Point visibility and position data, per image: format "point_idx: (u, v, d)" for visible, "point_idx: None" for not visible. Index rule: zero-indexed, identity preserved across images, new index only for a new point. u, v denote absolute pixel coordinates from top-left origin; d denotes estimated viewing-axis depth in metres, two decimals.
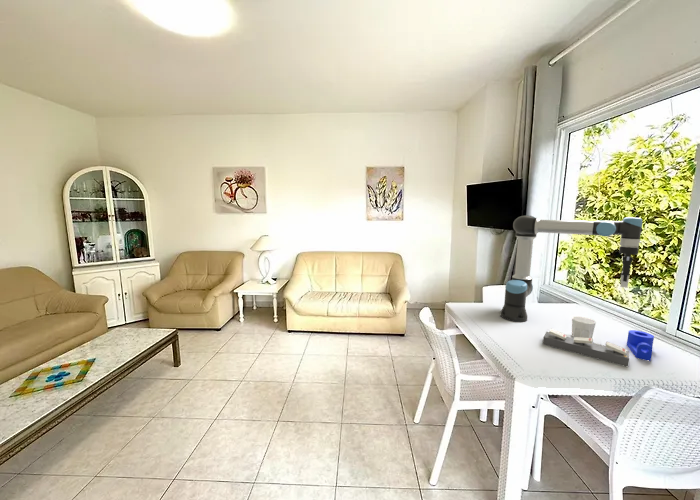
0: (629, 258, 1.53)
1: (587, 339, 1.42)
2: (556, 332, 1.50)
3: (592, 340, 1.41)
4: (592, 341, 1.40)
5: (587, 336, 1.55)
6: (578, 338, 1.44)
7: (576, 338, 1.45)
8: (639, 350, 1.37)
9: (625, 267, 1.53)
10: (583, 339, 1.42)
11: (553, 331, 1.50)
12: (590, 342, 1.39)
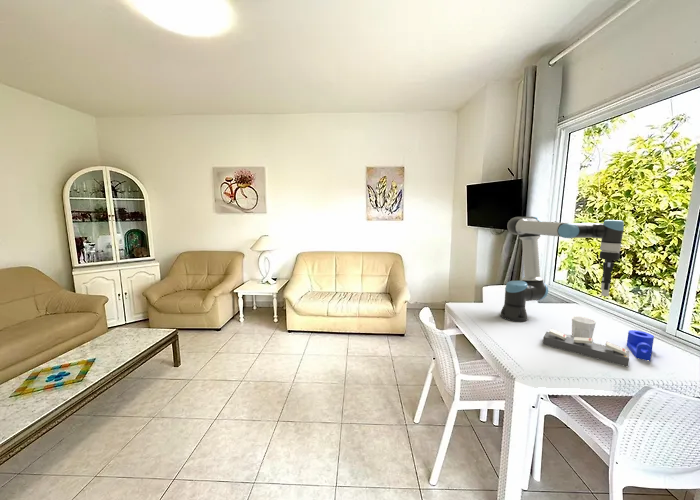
0: (610, 264, 1.40)
1: (587, 339, 1.42)
2: (556, 332, 1.50)
3: (592, 340, 1.41)
4: (592, 341, 1.40)
5: (587, 336, 1.55)
6: (578, 338, 1.44)
7: (576, 338, 1.45)
8: (639, 350, 1.37)
9: (606, 274, 1.40)
10: (583, 339, 1.42)
11: (553, 331, 1.50)
12: (590, 342, 1.39)
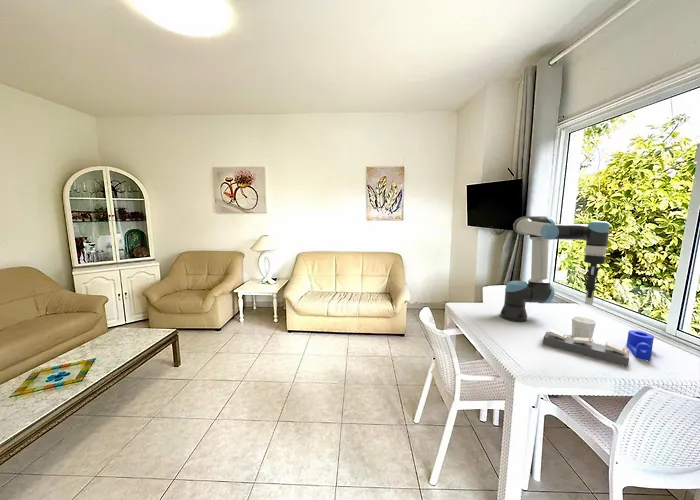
0: (593, 273, 1.33)
1: (587, 339, 1.42)
2: (556, 332, 1.50)
3: (592, 340, 1.41)
4: (592, 341, 1.40)
5: (587, 336, 1.55)
6: (578, 338, 1.44)
7: (576, 338, 1.45)
8: (638, 350, 1.37)
9: (589, 282, 1.35)
10: (583, 339, 1.42)
11: (553, 331, 1.50)
12: (590, 342, 1.39)
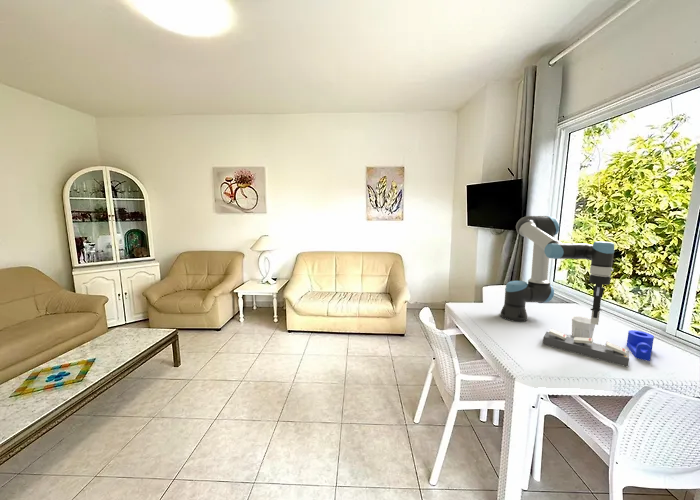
0: (599, 294, 1.32)
1: (587, 339, 1.42)
2: (556, 332, 1.50)
3: (592, 340, 1.41)
4: (592, 341, 1.40)
5: (587, 336, 1.55)
6: (578, 338, 1.44)
7: (576, 338, 1.45)
8: (638, 350, 1.37)
9: (595, 303, 1.35)
10: (583, 339, 1.42)
11: (553, 331, 1.50)
12: (590, 342, 1.39)
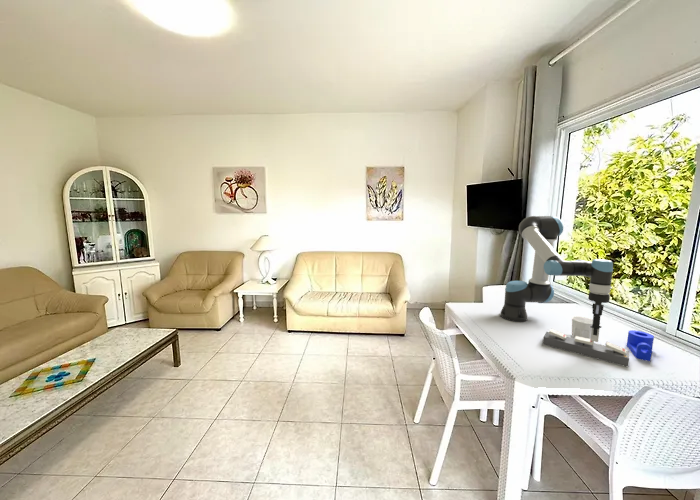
0: (598, 312, 1.33)
1: (588, 340, 1.41)
2: (556, 332, 1.50)
3: (593, 342, 1.40)
4: None
5: (587, 336, 1.55)
6: (579, 337, 1.44)
7: (577, 337, 1.44)
8: (639, 350, 1.36)
9: (594, 321, 1.36)
10: (584, 339, 1.42)
11: (553, 331, 1.50)
12: (591, 343, 1.39)
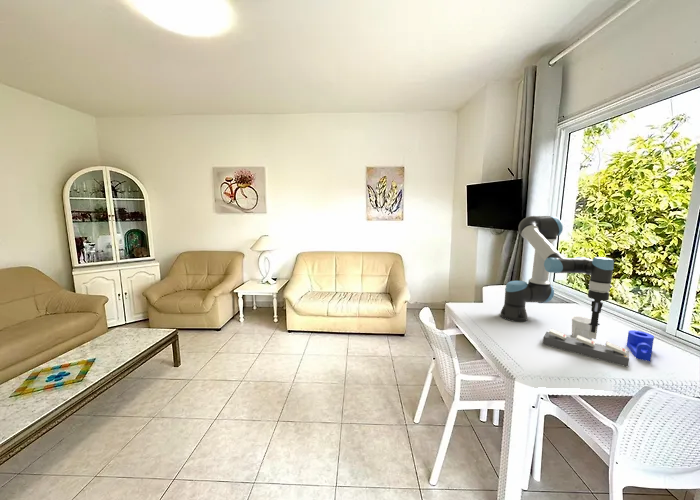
0: (597, 310, 1.34)
1: (590, 341, 1.41)
2: (556, 332, 1.50)
3: None
4: None
5: (587, 336, 1.55)
6: (581, 337, 1.44)
7: (579, 336, 1.44)
8: (639, 350, 1.36)
9: (593, 319, 1.36)
10: (586, 340, 1.42)
11: (553, 331, 1.50)
12: (592, 345, 1.39)
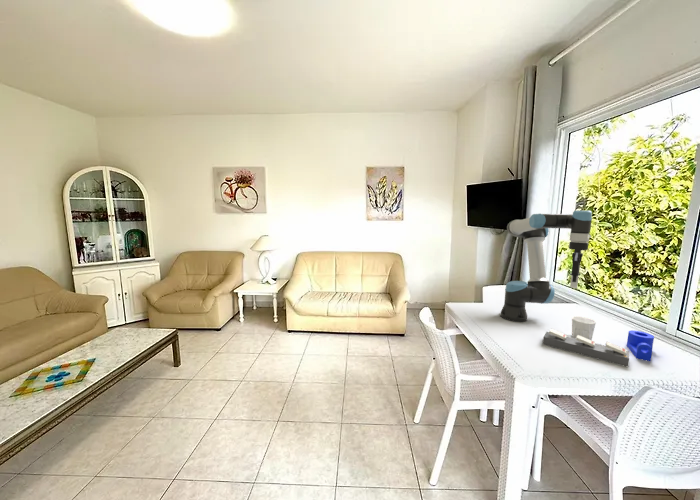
0: (577, 259, 1.42)
1: (590, 341, 1.41)
2: (556, 332, 1.50)
3: None
4: None
5: (587, 336, 1.55)
6: (581, 337, 1.44)
7: (579, 336, 1.44)
8: (639, 350, 1.36)
9: (573, 268, 1.45)
10: (586, 340, 1.42)
11: (553, 331, 1.50)
12: (592, 345, 1.39)
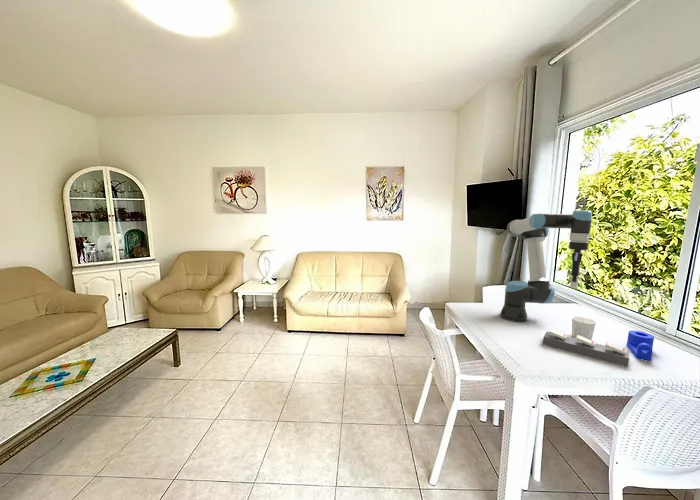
0: (577, 259, 1.42)
1: (590, 341, 1.41)
2: (556, 332, 1.50)
3: None
4: None
5: (587, 336, 1.55)
6: (581, 337, 1.44)
7: (579, 336, 1.44)
8: (639, 350, 1.36)
9: (573, 268, 1.45)
10: (586, 340, 1.42)
11: (553, 331, 1.50)
12: (592, 345, 1.39)
